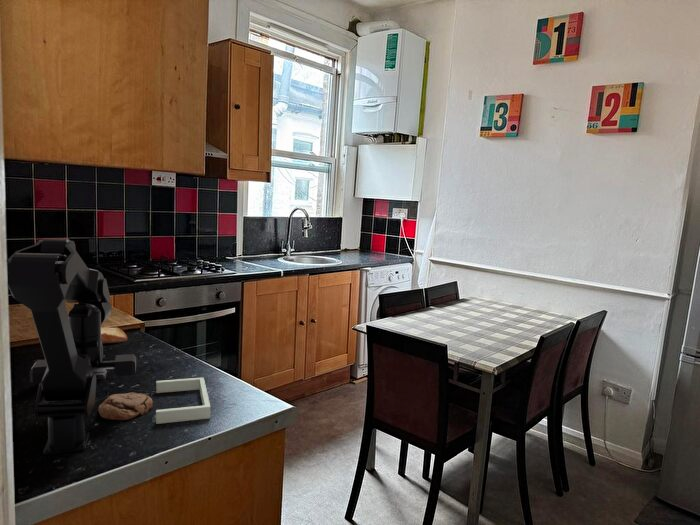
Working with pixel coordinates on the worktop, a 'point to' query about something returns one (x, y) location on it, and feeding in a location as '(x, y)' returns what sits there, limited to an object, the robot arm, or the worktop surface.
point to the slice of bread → (112, 335)
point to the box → (183, 412)
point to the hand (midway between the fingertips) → (86, 407)
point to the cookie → (125, 406)
